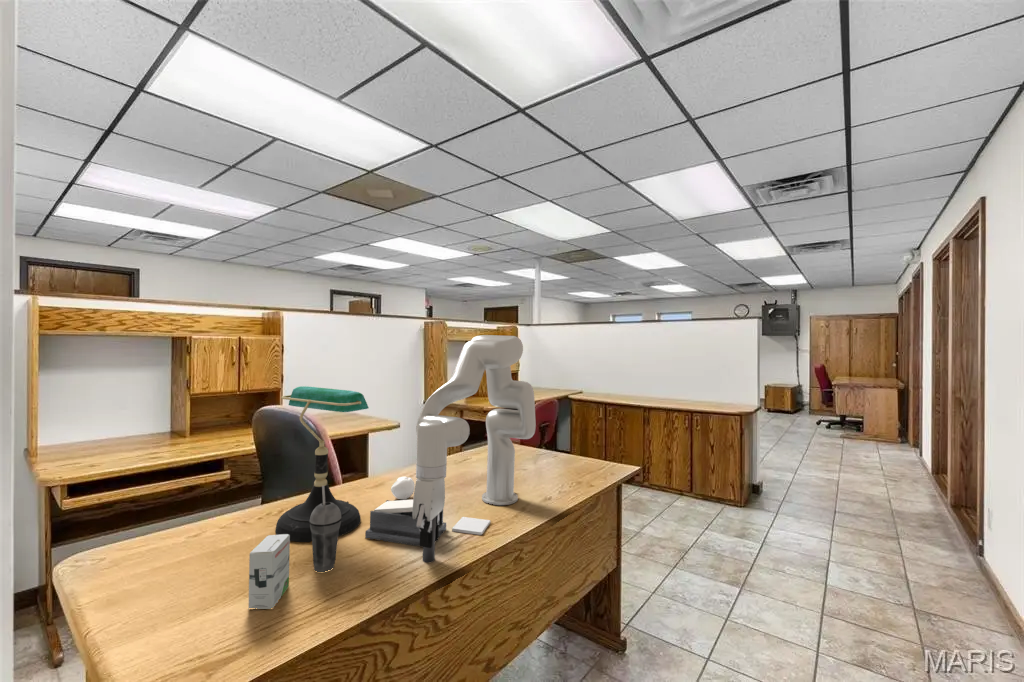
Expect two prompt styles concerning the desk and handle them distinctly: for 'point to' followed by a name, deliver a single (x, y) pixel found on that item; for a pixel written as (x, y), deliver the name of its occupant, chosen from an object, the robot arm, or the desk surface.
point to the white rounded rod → (430, 552)
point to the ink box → (269, 571)
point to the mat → (471, 525)
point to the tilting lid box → (397, 527)
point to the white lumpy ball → (403, 488)
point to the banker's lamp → (320, 463)
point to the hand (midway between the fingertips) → (429, 542)
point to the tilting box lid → (396, 506)
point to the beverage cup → (325, 534)
